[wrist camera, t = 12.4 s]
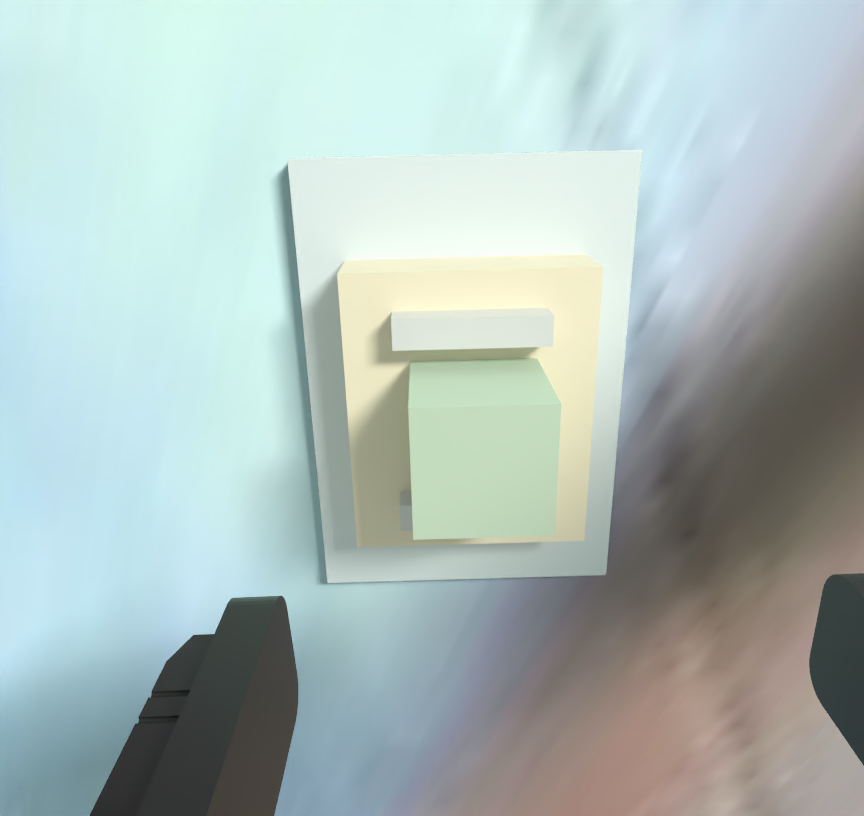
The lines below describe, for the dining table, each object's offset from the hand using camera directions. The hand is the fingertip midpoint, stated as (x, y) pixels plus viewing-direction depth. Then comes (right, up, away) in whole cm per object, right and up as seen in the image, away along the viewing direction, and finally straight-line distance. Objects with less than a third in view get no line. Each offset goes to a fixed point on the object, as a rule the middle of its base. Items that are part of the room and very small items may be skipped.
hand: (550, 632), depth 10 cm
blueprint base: (0, +4, +21) cm, 22 cm away
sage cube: (0, +3, +18) cm, 18 cm away
